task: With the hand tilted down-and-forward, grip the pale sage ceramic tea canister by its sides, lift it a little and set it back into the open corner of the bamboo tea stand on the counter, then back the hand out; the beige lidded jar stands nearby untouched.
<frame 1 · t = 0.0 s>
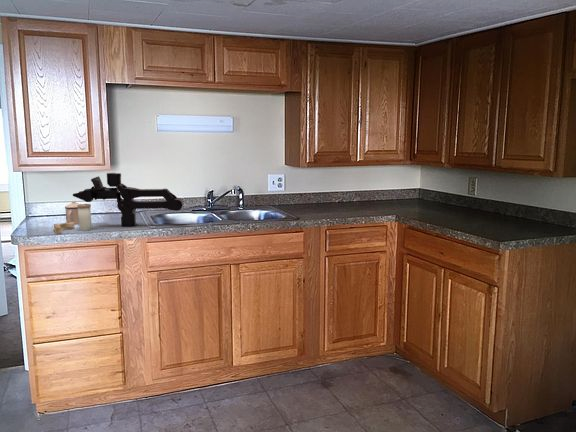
hand: (75, 193, 252), 17 cm above the worktop, tool horizontal, fingers open, 9 cm apart
beige lidded jar: (74, 223, 263), on the worktop
tea canister: (85, 229, 247), on the worktop
stand: (69, 230, 243), on the worktop
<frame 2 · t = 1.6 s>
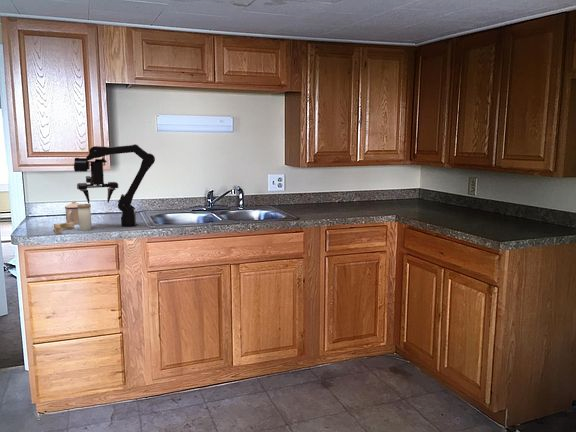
hand: (98, 203, 252), 12 cm above the worktop, tool pointing down, fingers open, 9 cm apart
nothing on the worktop moved.
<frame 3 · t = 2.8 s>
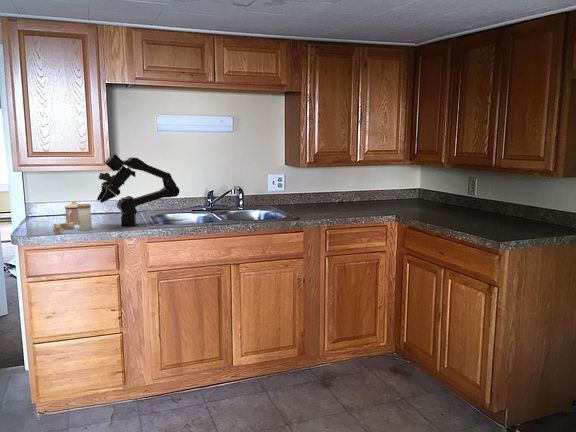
hand: (99, 201, 248), 13 cm above the worktop, tool tilted 45°, fingers open, 9 cm apart
nothing on the worktop moved.
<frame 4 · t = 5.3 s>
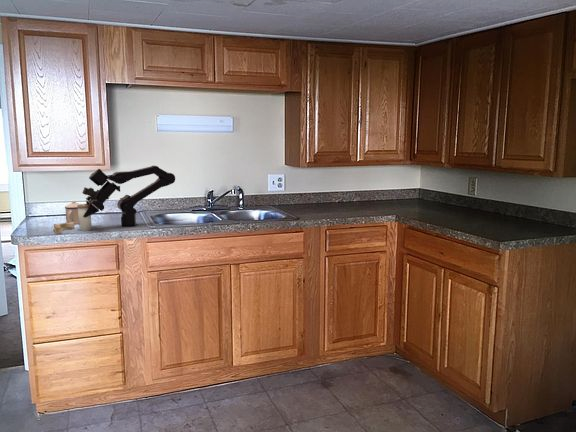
hand: (82, 216, 245), 7 cm above the worktop, tool tilted 45°, fingers closed on tea canister, 6 cm apart
tea canister: (85, 229, 247), on the worktop, touching gripper
everything else where it was.
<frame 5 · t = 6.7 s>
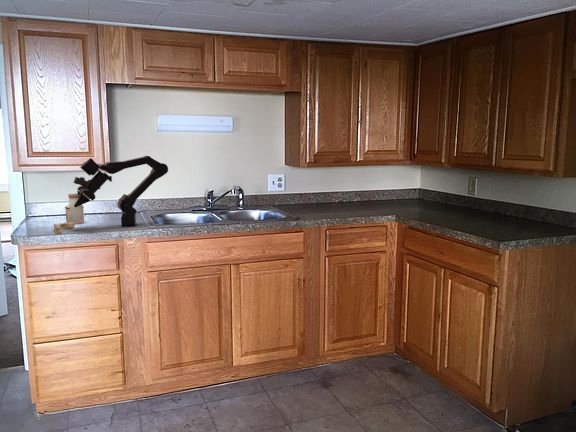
hand: (73, 206, 242), 12 cm above the worktop, tool tilted 45°, fingers closed on tea canister, 6 cm apart
tea canister: (76, 219, 244), point 5 cm above the worktop, touching gripper
everything else where it was.
when the fingers open (8 cm above the worktop, at t = 8.2 s): tea canister drops 1 cm, on the worktop.
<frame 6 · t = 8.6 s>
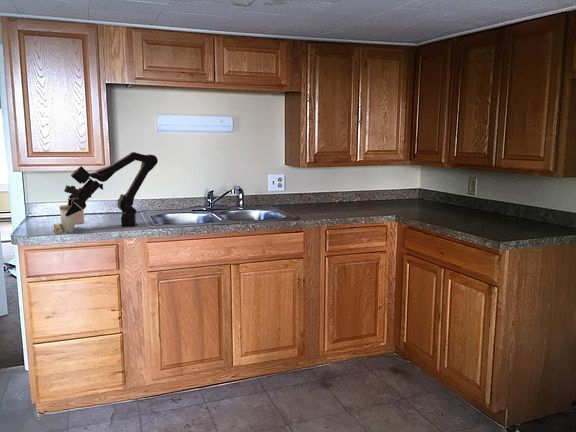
hand: (64, 214, 241), 8 cm above the worktop, tool tilted 45°, fingers open, 9 cm apart
tea canister: (68, 231, 243), on the worktop
everything else where it was.
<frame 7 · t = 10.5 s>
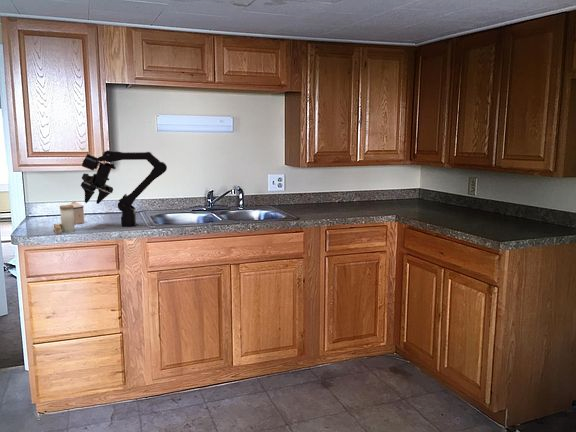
hand: (91, 203, 252), 12 cm above the worktop, tool tilted 25°, fingers open, 9 cm apart
nothing on the worktop moved.
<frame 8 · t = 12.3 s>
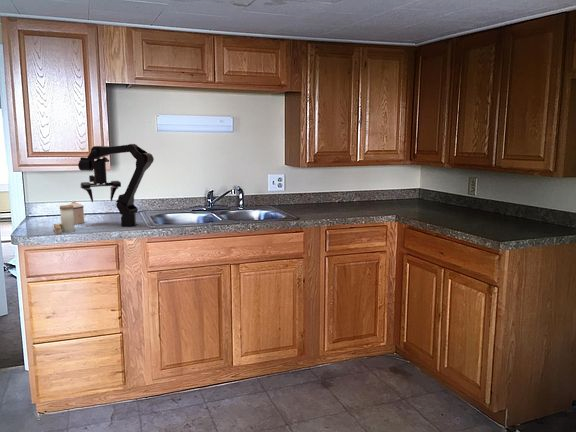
hand: (101, 201, 258), 12 cm above the worktop, tool pointing down, fingers open, 9 cm apart
nothing on the worktop moved.
at the end: tea canister inside the target area on the stand (0.3 cm from its centre), point 0.0 cm above the stand's base; tea canister tilted 0°; tea canister moved 7.9 cm from its start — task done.
